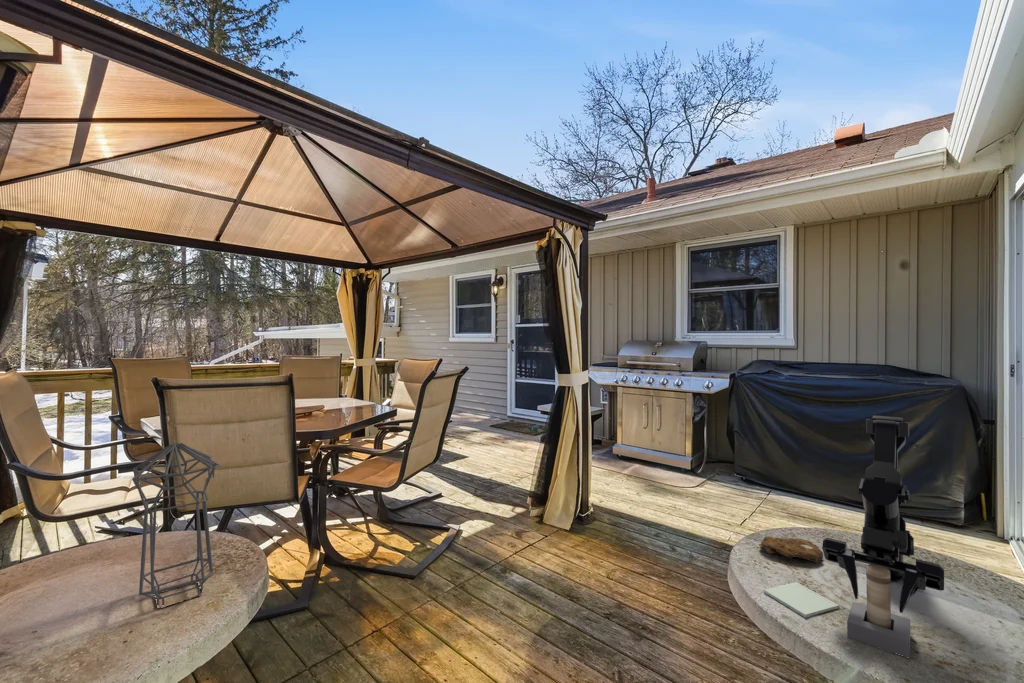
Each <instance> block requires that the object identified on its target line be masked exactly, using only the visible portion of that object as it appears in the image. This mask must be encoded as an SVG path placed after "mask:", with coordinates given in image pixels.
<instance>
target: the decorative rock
mask: <svg viewBox="0 0 1024 683" xmlns="http://www.w3.org/2000/svg"><path fill="white" fill-rule="evenodd" d="M758 546H759V549H760V550H762V551H763V552H765V553H766V554H769V555H771V554H779V555H781V556H784V558H789V559H791V558H793V559H794V558H798V557H800V558H799V559H801V558H803V559H802V560H807V561H811V560H813V561H812V562H814V561H815V562H817V563H816V564H819V562H820V561H821V559H823V558H824V553H823V550H821V549H820V548H819V547H818V546H817V545H816V544H814V543H813V542H812V541H810V540H808V539H802V538H785V537H774V536H769V535H768V536H766V535H765V536H764V538H763V540H762V541H761V543H759V544H758ZM815 562H814V563H815Z"/></svg>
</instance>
